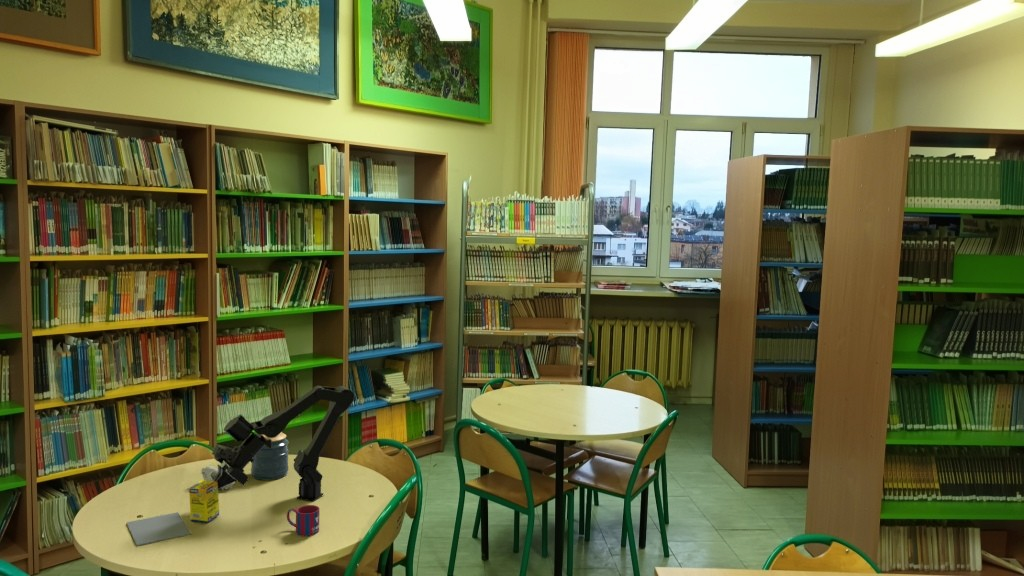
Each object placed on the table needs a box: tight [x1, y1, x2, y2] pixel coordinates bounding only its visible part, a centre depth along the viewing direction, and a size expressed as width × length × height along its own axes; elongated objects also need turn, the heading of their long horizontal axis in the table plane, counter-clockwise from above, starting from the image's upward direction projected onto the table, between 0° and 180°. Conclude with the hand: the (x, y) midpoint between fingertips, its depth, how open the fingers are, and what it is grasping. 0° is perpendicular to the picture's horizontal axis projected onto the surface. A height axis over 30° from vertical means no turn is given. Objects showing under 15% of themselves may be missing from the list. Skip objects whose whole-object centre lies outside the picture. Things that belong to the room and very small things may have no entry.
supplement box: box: [188, 479, 220, 524], centre depth 207 cm, size 6×6×11 cm
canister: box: [250, 431, 290, 481], centre depth 247 cm, size 13×13×18 cm
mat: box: [126, 511, 192, 547], centre depth 199 cm, size 14×18×1 cm
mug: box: [286, 504, 320, 537], centre depth 201 cm, size 7×10×7 cm
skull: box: [200, 465, 236, 491], centre depth 233 cm, size 8×9×12 cm
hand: (210, 490), depth 210 cm, fingers closed
